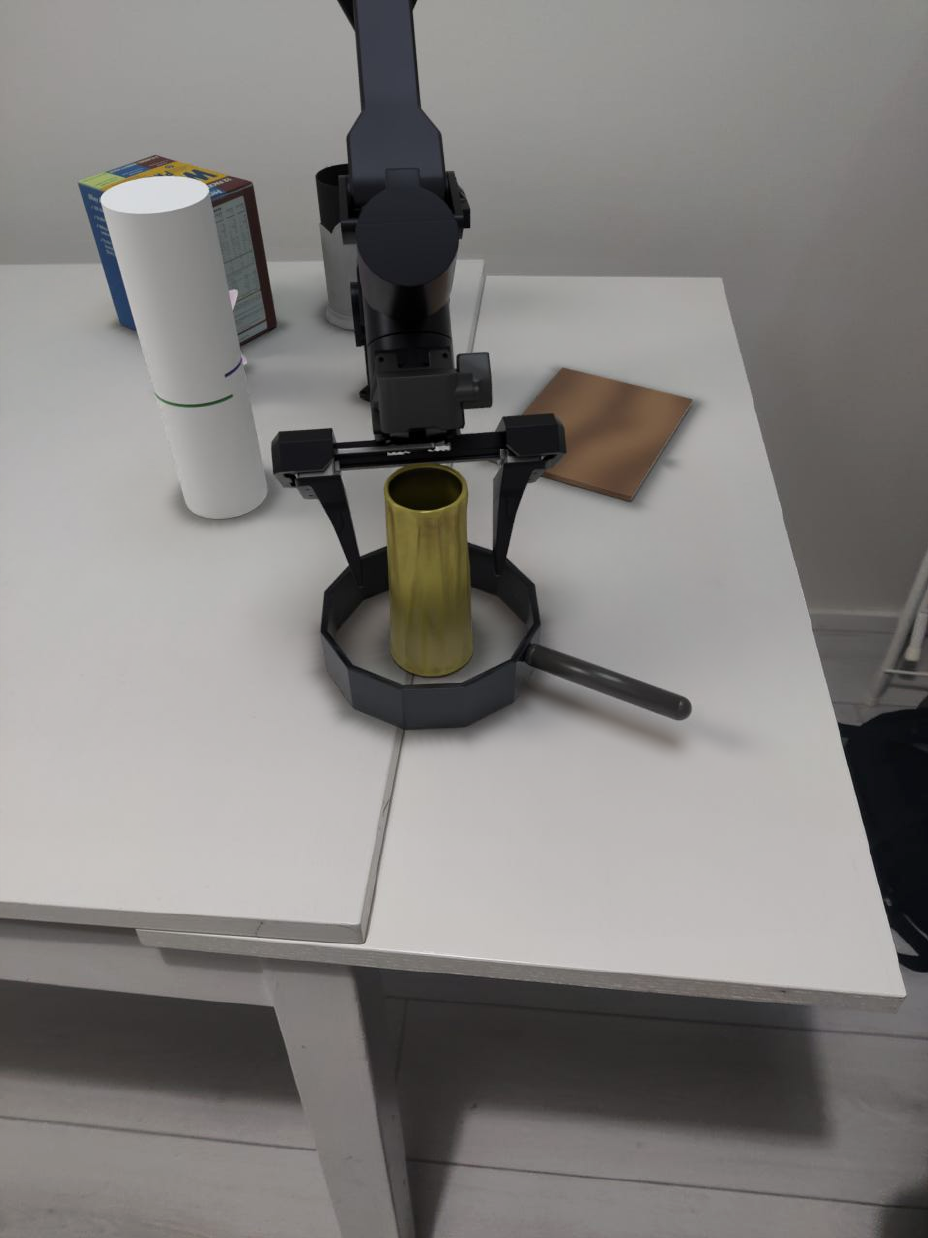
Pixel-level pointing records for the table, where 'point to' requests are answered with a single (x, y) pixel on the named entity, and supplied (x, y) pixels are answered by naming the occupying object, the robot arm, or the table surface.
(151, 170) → the protein box
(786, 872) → the table surface
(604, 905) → the table surface
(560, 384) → the wooden board
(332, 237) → the glass holder
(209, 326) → the cylindrical container
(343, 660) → the pan
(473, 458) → the robot arm
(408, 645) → the vase
